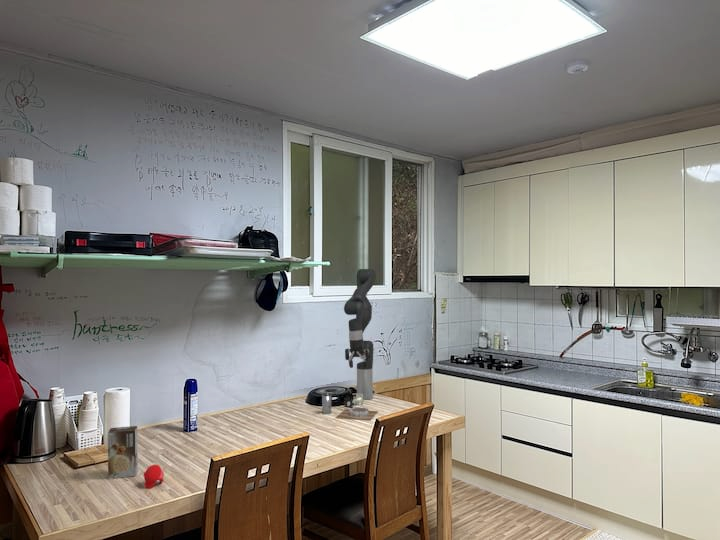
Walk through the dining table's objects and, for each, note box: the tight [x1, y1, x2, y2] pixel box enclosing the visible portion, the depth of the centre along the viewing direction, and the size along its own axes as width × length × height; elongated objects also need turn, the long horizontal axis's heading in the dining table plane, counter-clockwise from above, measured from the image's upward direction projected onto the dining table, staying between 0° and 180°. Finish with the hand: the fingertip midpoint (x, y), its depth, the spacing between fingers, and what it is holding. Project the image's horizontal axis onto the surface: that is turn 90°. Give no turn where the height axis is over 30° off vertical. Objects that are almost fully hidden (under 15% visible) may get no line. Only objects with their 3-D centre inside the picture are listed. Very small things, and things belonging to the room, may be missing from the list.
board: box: [335, 408, 379, 422], centre depth 254 cm, size 18×18×1 cm
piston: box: [321, 391, 332, 415], centre depth 258 cm, size 5×5×11 cm
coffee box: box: [107, 425, 139, 479], centre depth 179 cm, size 9×6×16 cm
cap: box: [142, 464, 165, 490], centre depth 170 cm, size 8×6×6 cm
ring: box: [349, 406, 370, 417], centre depth 253 cm, size 9×9×2 cm
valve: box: [343, 392, 364, 409], centre depth 273 cm, size 7×7×12 cm
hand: (358, 367), depth 275 cm, fingers open, 8 cm apart
